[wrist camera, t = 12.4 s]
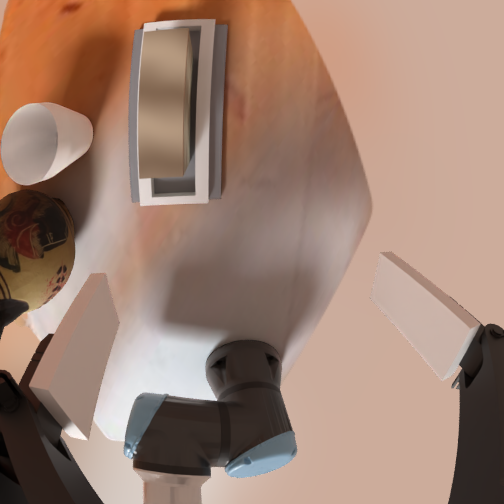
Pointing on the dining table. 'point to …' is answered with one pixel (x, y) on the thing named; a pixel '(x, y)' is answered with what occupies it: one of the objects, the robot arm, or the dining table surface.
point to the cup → (43, 141)
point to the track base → (201, 122)
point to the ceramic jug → (33, 252)
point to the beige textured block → (165, 103)
